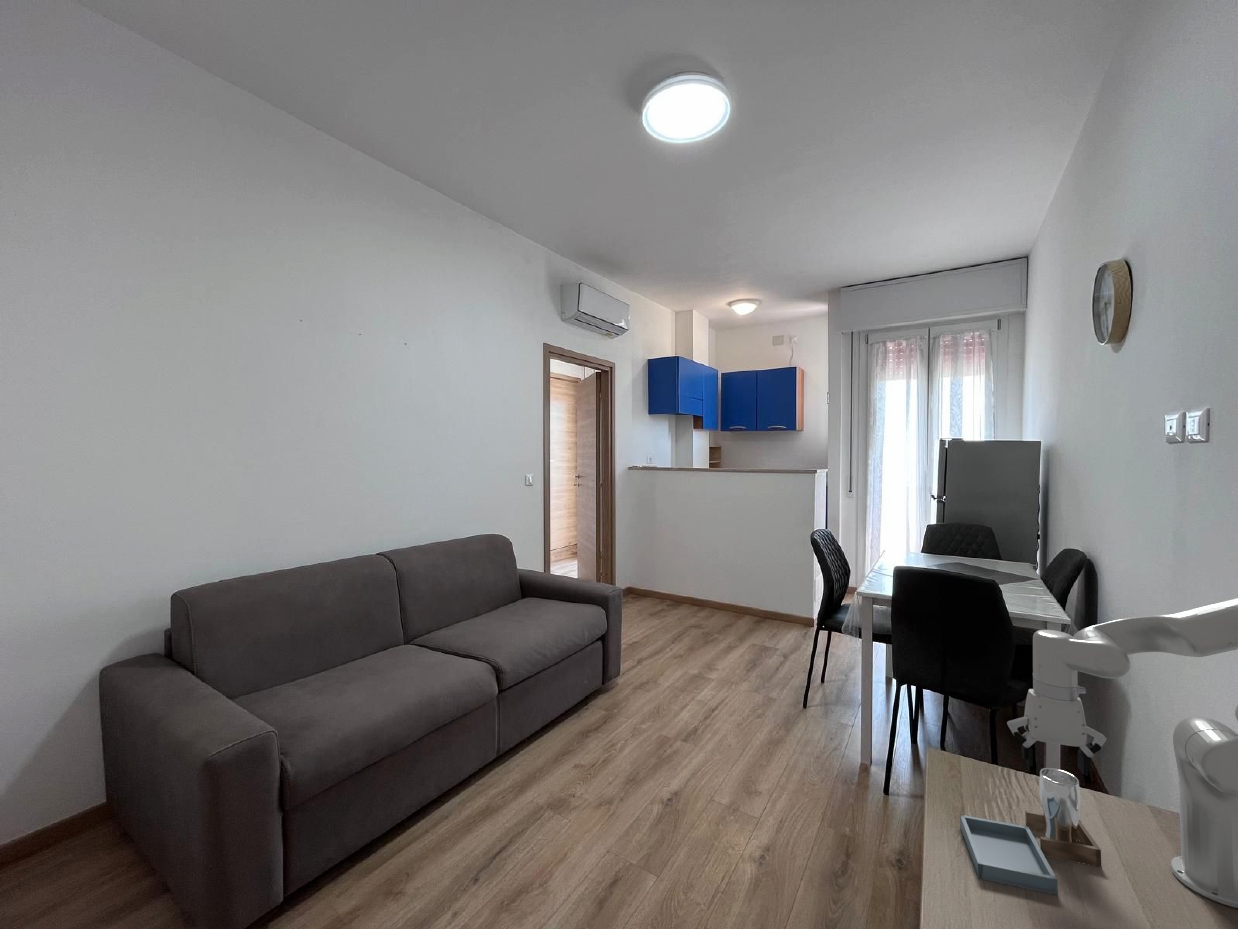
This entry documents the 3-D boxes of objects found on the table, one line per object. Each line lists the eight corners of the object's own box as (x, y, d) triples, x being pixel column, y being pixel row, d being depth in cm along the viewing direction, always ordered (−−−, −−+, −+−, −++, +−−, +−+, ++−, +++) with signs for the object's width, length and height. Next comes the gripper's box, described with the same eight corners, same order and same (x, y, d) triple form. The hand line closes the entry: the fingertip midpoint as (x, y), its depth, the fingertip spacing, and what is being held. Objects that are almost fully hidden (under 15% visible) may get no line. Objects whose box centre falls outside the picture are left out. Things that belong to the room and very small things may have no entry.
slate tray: (1028, 840, 118) (1028, 827, 118) (1057, 895, 103) (1057, 879, 103) (960, 827, 122) (959, 814, 122) (978, 878, 107) (978, 863, 107)
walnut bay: (1080, 835, 119) (1079, 819, 119) (1101, 867, 109) (1100, 850, 109) (1025, 825, 122) (1025, 810, 122) (1042, 855, 113) (1041, 839, 113)
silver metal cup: (1045, 850, 114) (1042, 780, 115) (1037, 830, 121) (1035, 764, 121) (1087, 861, 111) (1084, 789, 111) (1077, 840, 117) (1074, 771, 117)
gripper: (1096, 688, 117) (1097, 766, 117) (1002, 677, 123) (1002, 751, 123) (1113, 702, 110) (1114, 785, 110) (1012, 690, 116) (1013, 769, 116)
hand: (1055, 767), depth 116 cm, fingers open, 9 cm apart
